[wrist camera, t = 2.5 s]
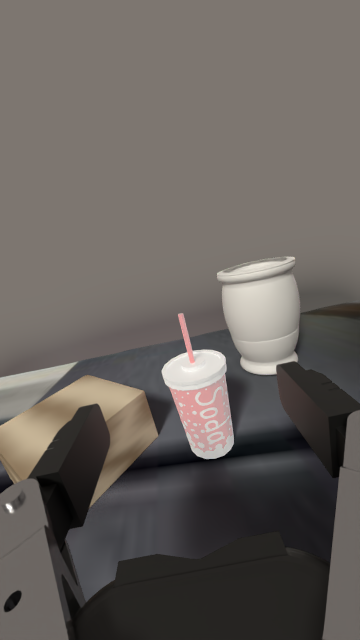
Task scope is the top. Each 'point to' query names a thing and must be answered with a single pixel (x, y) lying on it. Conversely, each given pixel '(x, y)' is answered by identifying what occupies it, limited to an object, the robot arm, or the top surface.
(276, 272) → the jar
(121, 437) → the wooden riser
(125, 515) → the top surface
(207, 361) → the beverage cup
